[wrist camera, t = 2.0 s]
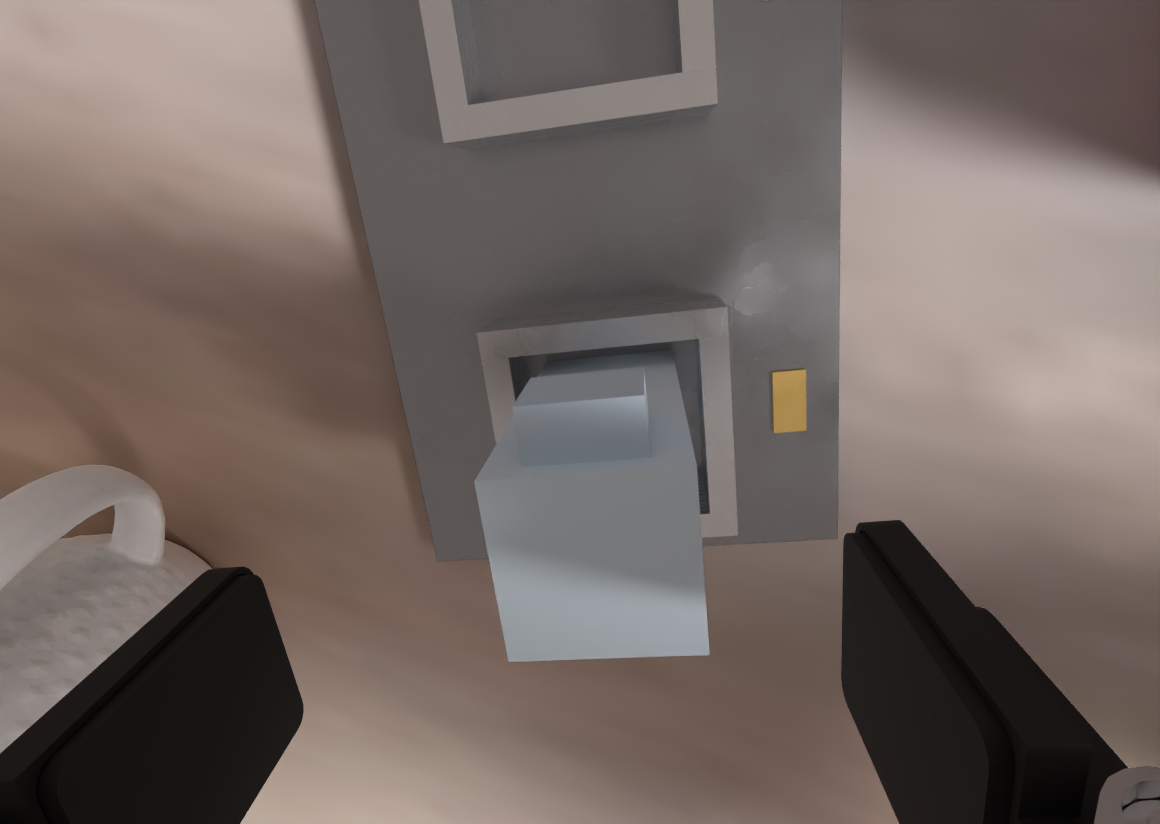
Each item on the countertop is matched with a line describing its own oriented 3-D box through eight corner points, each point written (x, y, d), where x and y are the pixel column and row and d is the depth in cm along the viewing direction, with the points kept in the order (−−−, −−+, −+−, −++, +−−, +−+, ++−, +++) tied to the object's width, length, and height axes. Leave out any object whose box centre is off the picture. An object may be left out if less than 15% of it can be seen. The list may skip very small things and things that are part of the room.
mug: (70, 347, 22) (-637, 526, 10) (352, 474, 23) (15, 792, 11) (21, 647, 27) (-494, 1016, 15) (255, 746, 28) (-55, 1180, 15)
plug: (680, 467, 20) (709, 654, 12) (562, 476, 21) (508, 662, 12) (669, 311, 19) (692, 399, 10) (540, 324, 19) (462, 419, 11)
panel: (828, 523, 22) (857, 571, 19) (445, 546, 23) (418, 593, 21) (832, -285, 15) (877, -400, 12) (293, -168, 17) (223, -243, 14)
